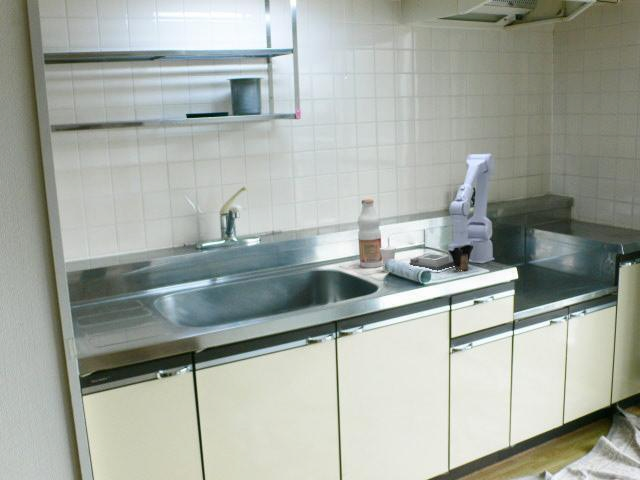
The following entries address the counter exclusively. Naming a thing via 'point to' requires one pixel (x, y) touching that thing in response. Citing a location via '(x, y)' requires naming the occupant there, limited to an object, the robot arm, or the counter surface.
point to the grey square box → (432, 261)
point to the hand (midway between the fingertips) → (461, 265)
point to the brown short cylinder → (463, 263)
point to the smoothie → (387, 253)
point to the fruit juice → (369, 236)
